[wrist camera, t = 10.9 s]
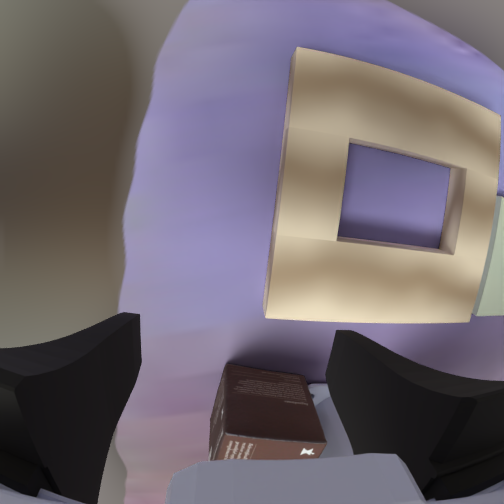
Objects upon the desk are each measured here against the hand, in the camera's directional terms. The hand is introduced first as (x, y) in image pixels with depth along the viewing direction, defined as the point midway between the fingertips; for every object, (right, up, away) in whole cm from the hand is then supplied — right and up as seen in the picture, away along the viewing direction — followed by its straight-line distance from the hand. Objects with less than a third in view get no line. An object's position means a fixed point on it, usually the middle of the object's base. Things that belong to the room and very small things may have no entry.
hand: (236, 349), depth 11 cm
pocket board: (+10, +7, +9) cm, 15 cm away
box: (+1, -8, +12) cm, 14 cm away
